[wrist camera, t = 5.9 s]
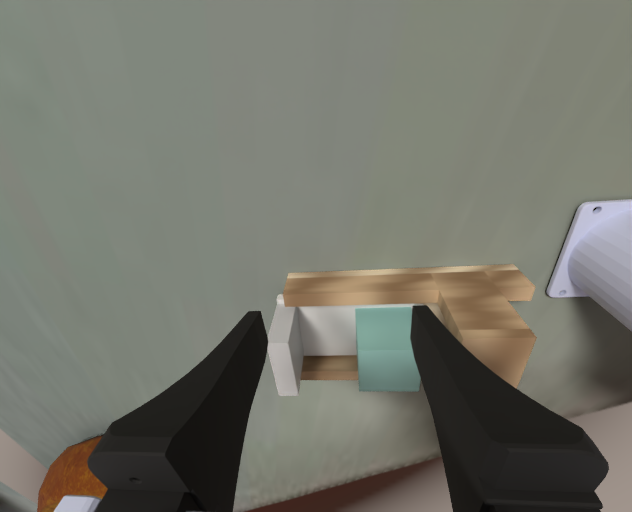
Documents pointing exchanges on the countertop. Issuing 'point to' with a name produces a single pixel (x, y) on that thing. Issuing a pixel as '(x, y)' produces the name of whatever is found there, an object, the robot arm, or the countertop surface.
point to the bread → (70, 477)
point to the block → (385, 350)
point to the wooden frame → (441, 297)
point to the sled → (310, 338)
